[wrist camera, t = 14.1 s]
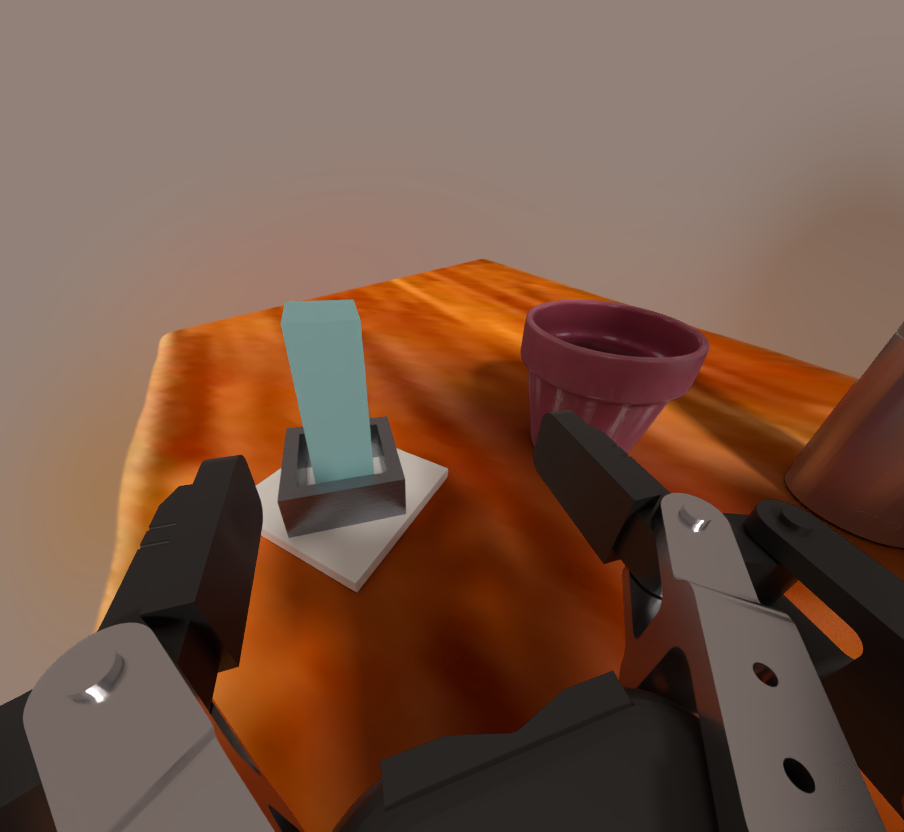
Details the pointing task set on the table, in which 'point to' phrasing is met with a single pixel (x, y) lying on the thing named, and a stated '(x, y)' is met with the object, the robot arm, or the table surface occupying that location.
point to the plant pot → (607, 364)
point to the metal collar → (339, 487)
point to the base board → (354, 546)
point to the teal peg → (330, 386)
